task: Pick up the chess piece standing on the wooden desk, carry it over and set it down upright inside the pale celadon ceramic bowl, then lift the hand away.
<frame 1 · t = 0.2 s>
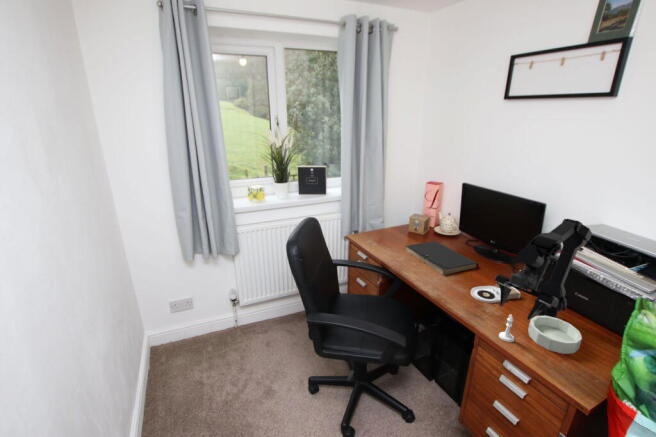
hand: (514, 312, 105), 15 cm above the table, tool tilted 30°, fingers open, 9 cm apart
chess piece: (506, 338, 115), on the table
dark grey book: (438, 259, 178), on the table
bowl: (552, 338, 114), on the table
record player: (492, 295, 143), on the table
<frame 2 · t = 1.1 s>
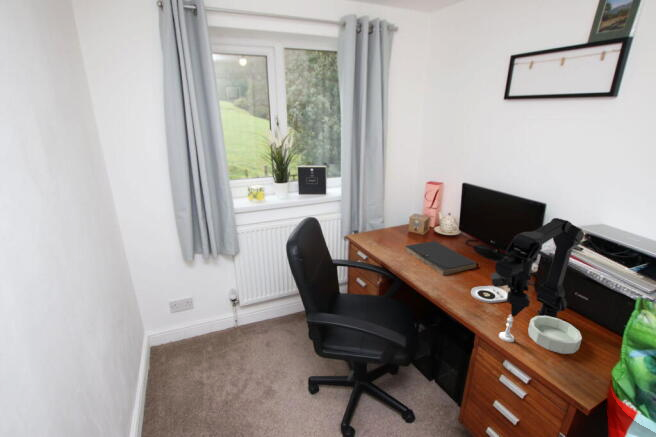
hand: (512, 309, 111), 12 cm above the table, tool pointing down, fingers open, 9 cm apart
nothing on the table moved.
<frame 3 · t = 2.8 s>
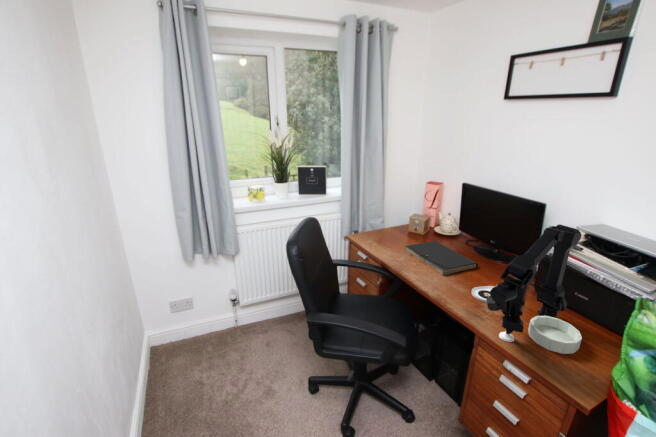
hand: (507, 331, 114), 3 cm above the table, tool pointing down, fingers closed on chess piece
chess piece: (506, 338, 115), on the table, touching gripper
everything else where it was.
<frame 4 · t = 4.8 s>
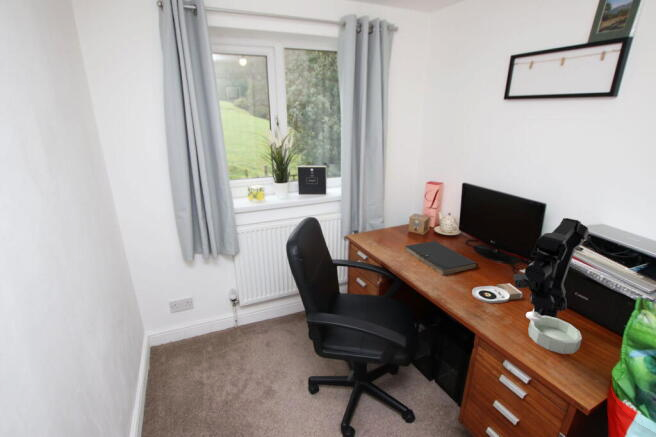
hand: (535, 309, 111), 12 cm above the table, tool pointing down, fingers closed on chess piece
chess piece: (533, 317, 112), point 9 cm above the table, touching gripper
everything else where it was.
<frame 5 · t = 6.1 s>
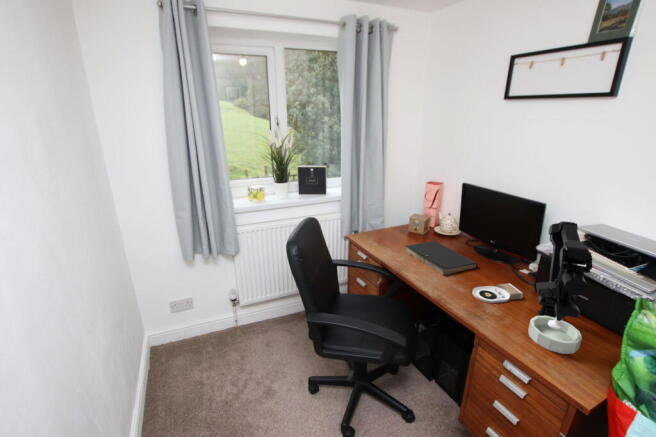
hand: (557, 318, 112), 9 cm above the table, tool pointing down, fingers closed on chess piece
chess piece: (555, 326, 113), point 5 cm above the table, touching gripper
everything else where it was.
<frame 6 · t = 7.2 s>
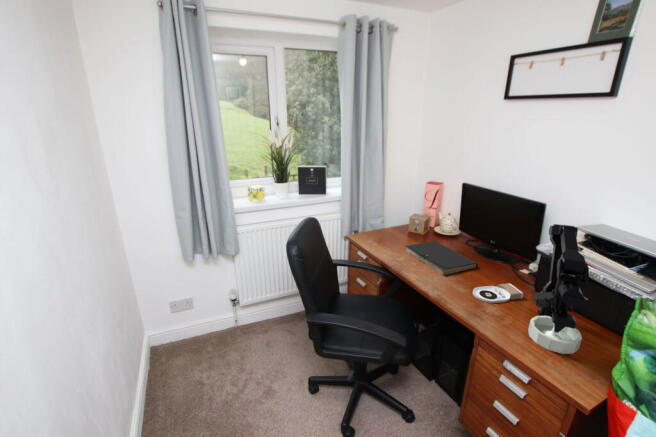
hand: (555, 328, 113), 4 cm above the table, tool pointing down, fingers open, 4 cm apart
chess piece: (552, 337, 114), point 1 cm above the table, touching bowl
everything else where it was.
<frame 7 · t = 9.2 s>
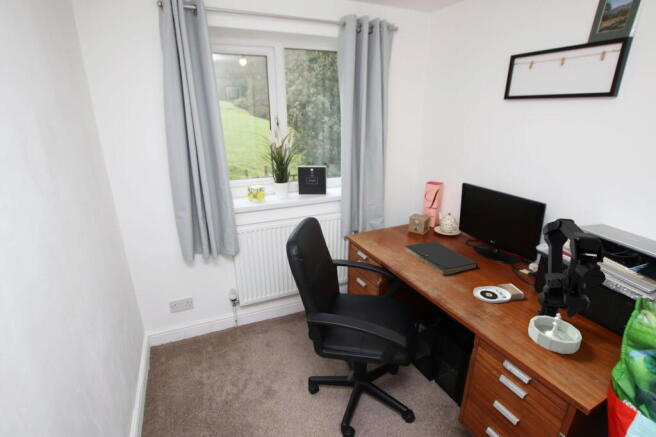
hand: (567, 310, 110), 12 cm above the table, tool pointing down, fingers open, 9 cm apart
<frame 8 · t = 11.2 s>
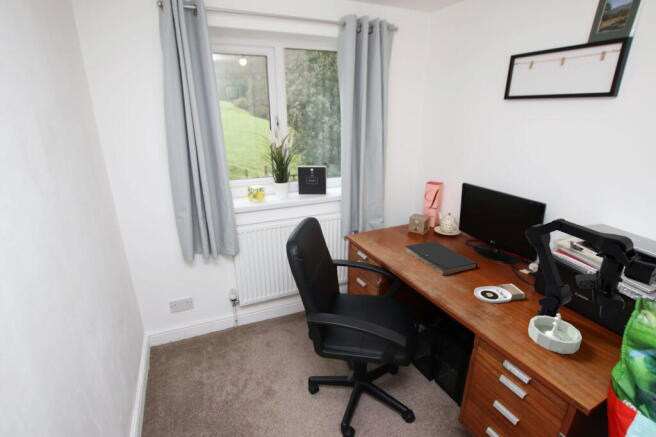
hand: (598, 311, 110), 12 cm above the table, tool pointing down, fingers open, 9 cm apart
at the end: chess piece inside the target area on the bowl (0.0 cm from its centre), point 0.6 cm above the bowl's base; chess piece tilted 0°; the gripper is holding nothing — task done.
